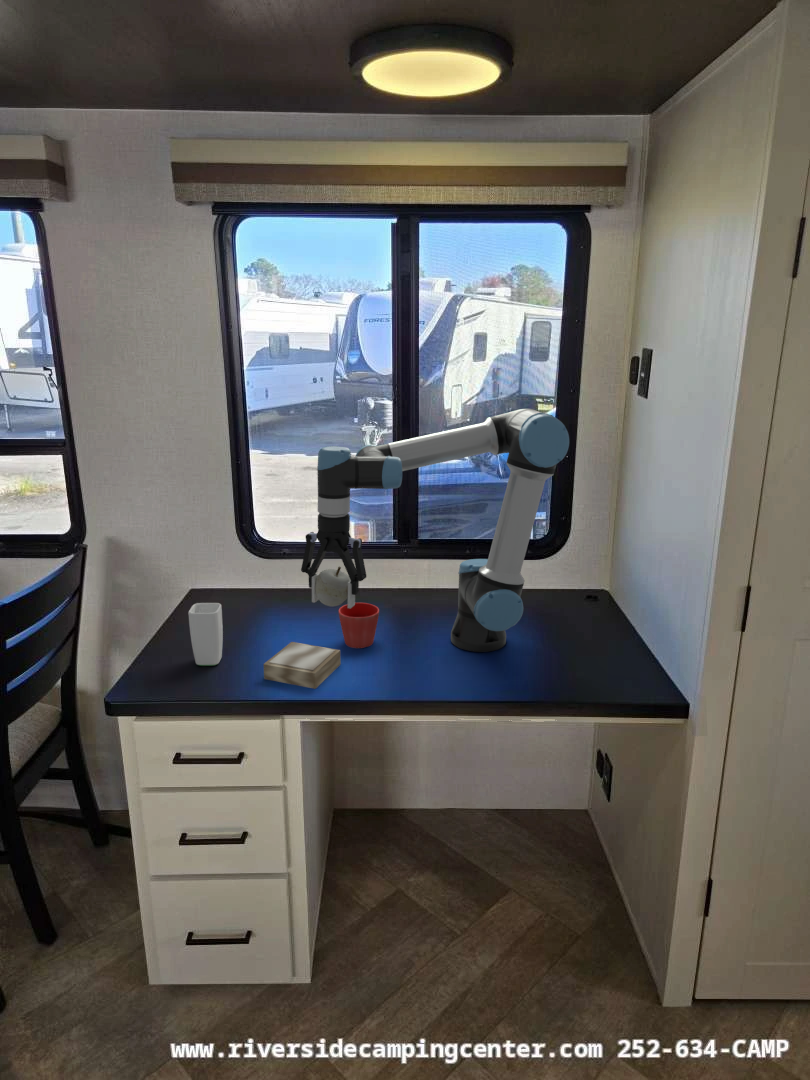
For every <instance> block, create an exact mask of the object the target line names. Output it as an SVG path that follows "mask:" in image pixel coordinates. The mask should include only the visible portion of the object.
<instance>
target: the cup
mask: <svg viewBox="0 0 810 1080" xmlns="http://www.w3.org/2000/svg"><path fill="white" fill-rule="evenodd" d="M187 614H188V625H189V633H190V641H191V646H192V647H191V648H192V653H193V657H194V661H195V664H196V665H197V666H200V667H210V666H211V667H214V666H216V665H218V664H219V663H220V661H221V659H222V657H223V642H224V640H223V639H224V638H223V637H224V636H223V635H224V634H223V633H224V631H223V628H224V627H223V610H222V604H221V603H219V602H196V603H194V604H193V605H191V607H190V609H189V610H188V613H187Z"/></svg>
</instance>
